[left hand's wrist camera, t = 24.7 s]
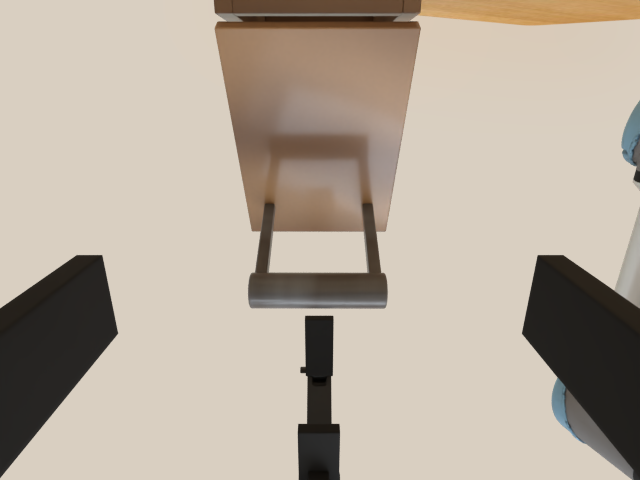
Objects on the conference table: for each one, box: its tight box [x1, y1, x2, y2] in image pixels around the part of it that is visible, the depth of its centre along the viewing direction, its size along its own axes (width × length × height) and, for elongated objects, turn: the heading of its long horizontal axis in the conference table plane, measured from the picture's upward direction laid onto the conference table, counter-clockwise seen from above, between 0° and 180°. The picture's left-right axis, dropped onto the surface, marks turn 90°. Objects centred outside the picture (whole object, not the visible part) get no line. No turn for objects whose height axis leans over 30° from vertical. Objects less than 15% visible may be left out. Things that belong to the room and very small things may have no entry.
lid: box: [215, 21, 421, 308], centre depth 22 cm, size 14×10×9 cm
